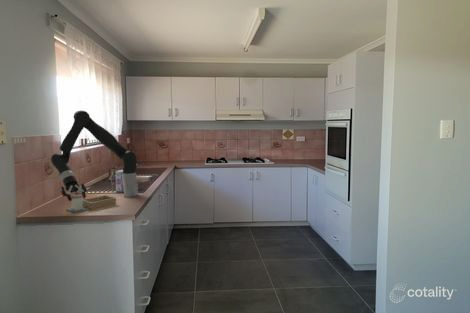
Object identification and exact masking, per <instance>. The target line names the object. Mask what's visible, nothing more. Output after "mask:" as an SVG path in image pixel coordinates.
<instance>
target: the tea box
mask: <svg viewBox="0 0 470 313" xmlns="http://www.w3.org/2000/svg"><path fill="white" fill-rule="evenodd" d="M71 198H72V200H71V208H72V209H73V210H80V209H83V202H82V200H83V196H82V195H73V196H71Z"/></svg>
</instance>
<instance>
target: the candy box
mask: <svg viewBox="0 0 470 313" xmlns="http://www.w3.org/2000/svg"><path fill="white" fill-rule="evenodd" d="M114 175H115V178H114V179H115V192H116V193H118V192H119V193H124V186H123V169H120V170H116V171H114Z"/></svg>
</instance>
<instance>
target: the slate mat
mask: <svg viewBox="0 0 470 313" xmlns="http://www.w3.org/2000/svg"><path fill="white" fill-rule="evenodd" d="M66 211H67V212H70V213H73V214H77V213H82V212H86V211H90V209H88V208H85V207H83V209H80V210H73V209H72V207H70V208H66Z"/></svg>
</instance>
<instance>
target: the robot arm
mask: <svg viewBox="0 0 470 313" xmlns="http://www.w3.org/2000/svg"><path fill="white" fill-rule="evenodd" d="M84 129H86V130H87V131H88V132H90V134H91V135H92V136H93V137H94V138H95V139H97V141H98V142H99V143H101V144H102V146H104V147H105V148H106V149H108V150H110V151H111V152H113V154H115V155H116V156H117V158H119V159H120V160H121V161H122V163H123V168H122V170H123V186H124V192H123V197H126V198H130V197H131V198H132V197H136V196H139V188H138V187H139V184H138V182H137V167H138V166H137V155H136V153H135V152H134V151H130V150H128V149H127V148H126V147H124V146H123V145H122V144H121V143H119V141H118V140H117V138H116V137H115V136H114V135H113V134H112V133H110V132H109V131H108V130H107V129H105V127H103V126H101V125H99V124H98V123H97V122H95V121H94V119H92V118H91V116H90V113H89V112H87V111H86V110H80V109H79V110H77V111H75V112H74V114H73V124H72V126H71V128H70V129H69V131H68V132H67V135H66V136H65V137H64V138H63V140H62V143H61V144H60V145H59V146H60V147H59V150H60V151H61V152H62V153H61V154H60V153H53V155H52V156H51V157H50V160H51V163H52V165H53V166H54V168H55V169H56V170H57V171H58V173H59V175H60V178H61V181H62V183H63V185H64V186H63V185H62V186H61V187H60V191H61V194H62V197H66V198H67V200H68V201H69V202H72V198H71V197H72V196H71V194H70V193H79V194H81V196H82V200H83V199H86V197H87V195H86V193H87V190H88V189H87V187H86V186H85V184H84V183H81V184H79V183H78V180H77V179H76V177H75V174H74V173H73V171H72V169H71V167H70V166H69V165H68V163H69V162H70V159H71V158H70V156H71V152H72V150H73V148H74V146H75V144H76V142H77V140H78V138H79V136H80V134H81V133H82V131H83V130H84ZM66 191H67V192H66Z"/></svg>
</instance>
